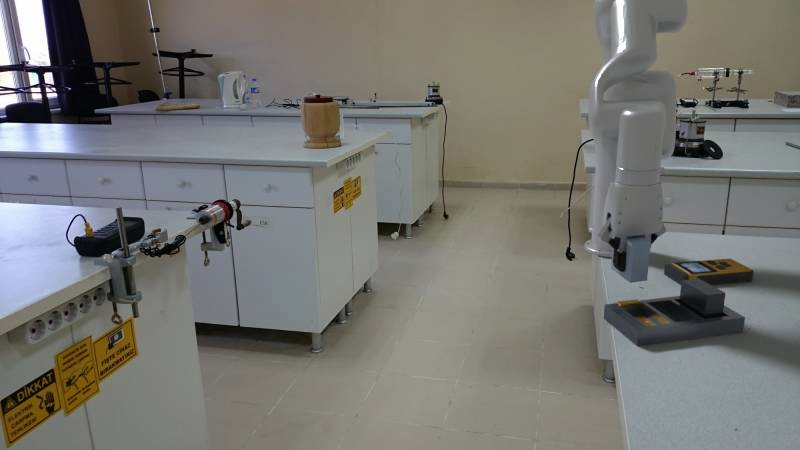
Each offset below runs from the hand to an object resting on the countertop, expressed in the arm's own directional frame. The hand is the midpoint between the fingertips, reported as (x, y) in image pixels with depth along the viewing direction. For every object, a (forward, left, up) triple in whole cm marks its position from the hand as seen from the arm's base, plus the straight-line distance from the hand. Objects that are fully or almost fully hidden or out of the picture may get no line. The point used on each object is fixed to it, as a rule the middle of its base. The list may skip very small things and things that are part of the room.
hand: (629, 267), depth 118 cm
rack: (+12, +1, -7) cm, 14 cm away
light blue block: (0, 0, -2) cm, 2 cm away
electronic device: (-6, +23, -7) cm, 24 cm away
